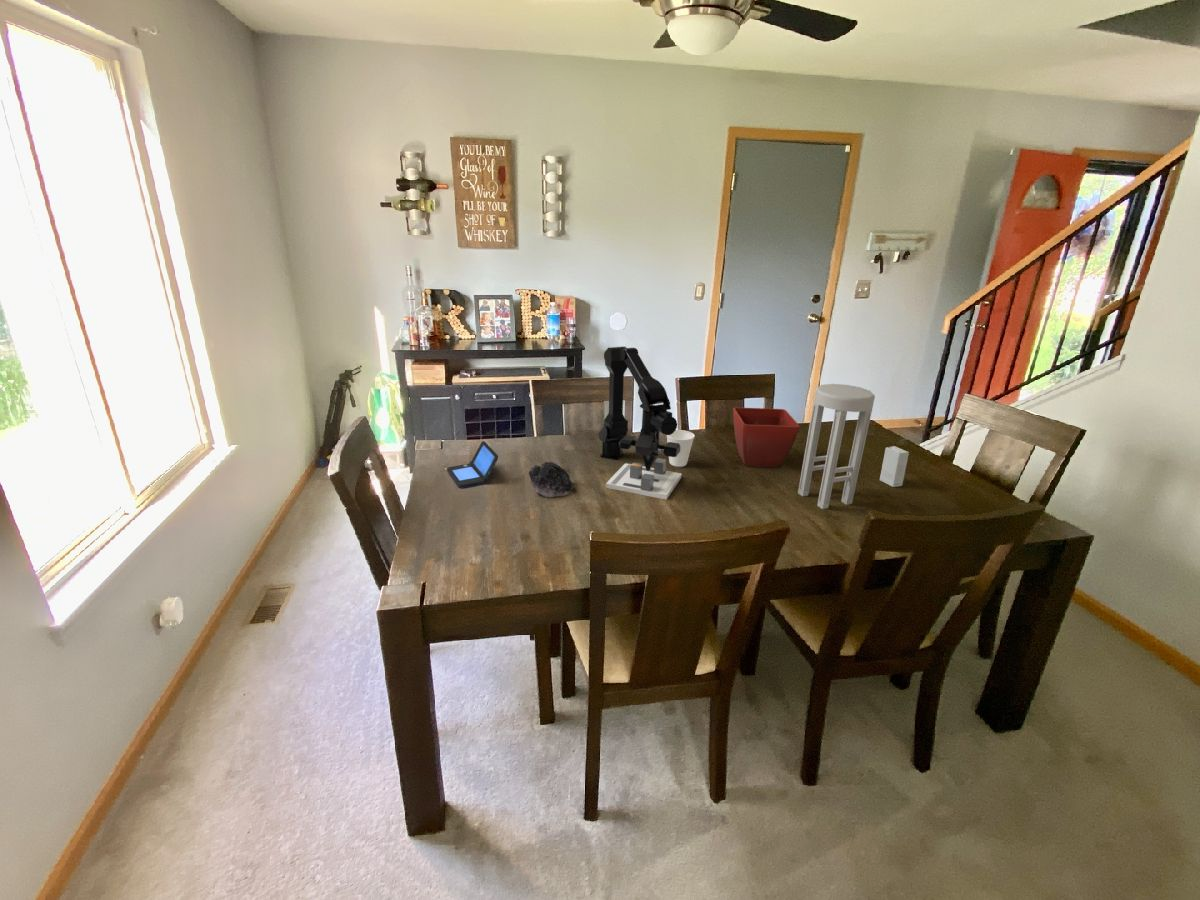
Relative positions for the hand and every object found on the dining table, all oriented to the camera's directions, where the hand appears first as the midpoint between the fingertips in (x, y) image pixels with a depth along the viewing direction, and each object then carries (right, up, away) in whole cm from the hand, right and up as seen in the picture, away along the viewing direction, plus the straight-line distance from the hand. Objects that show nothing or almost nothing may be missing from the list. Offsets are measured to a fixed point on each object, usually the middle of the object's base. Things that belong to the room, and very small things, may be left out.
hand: (648, 470), depth 183 cm
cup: (+12, +2, +17) cm, 21 cm away
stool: (+55, -9, -5) cm, 56 cm away
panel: (-1, -4, +2) cm, 5 cm away
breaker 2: (+4, -1, +7) cm, 8 cm away
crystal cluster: (-31, -6, -4) cm, 32 cm away
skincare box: (+82, -5, +7) cm, 82 cm away
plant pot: (+42, +3, +22) cm, 48 cm away
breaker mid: (-4, -2, +3) cm, 5 cm away
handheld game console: (-57, -2, +4) cm, 58 cm away
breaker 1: (-1, -5, -6) cm, 8 cm away
